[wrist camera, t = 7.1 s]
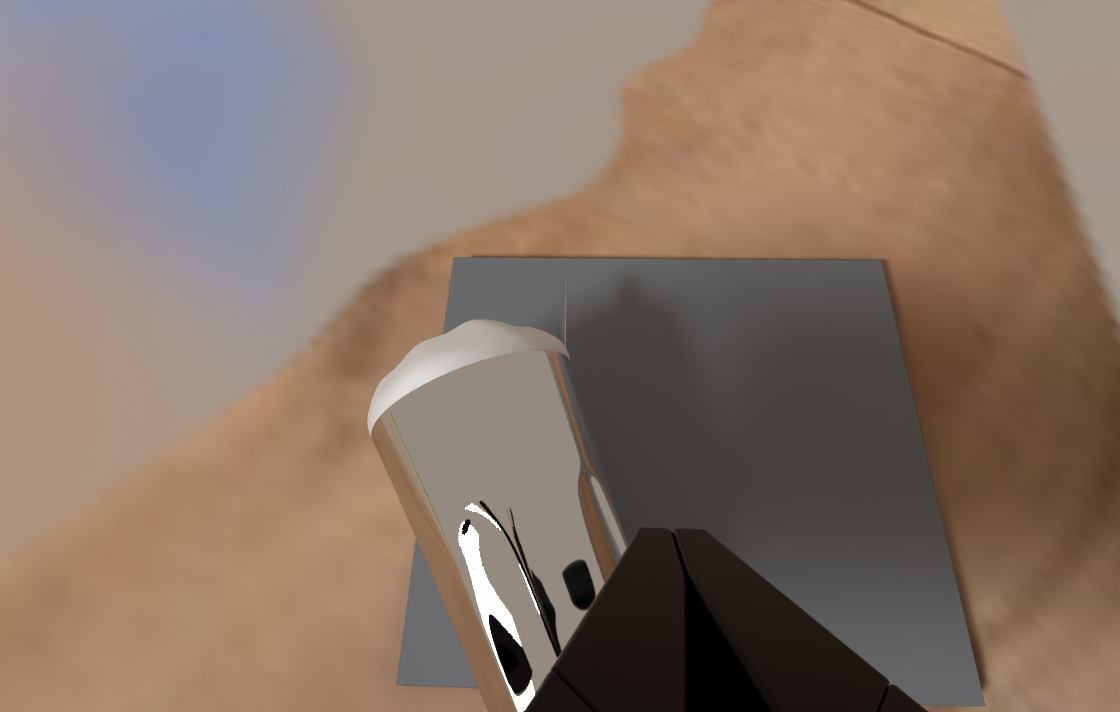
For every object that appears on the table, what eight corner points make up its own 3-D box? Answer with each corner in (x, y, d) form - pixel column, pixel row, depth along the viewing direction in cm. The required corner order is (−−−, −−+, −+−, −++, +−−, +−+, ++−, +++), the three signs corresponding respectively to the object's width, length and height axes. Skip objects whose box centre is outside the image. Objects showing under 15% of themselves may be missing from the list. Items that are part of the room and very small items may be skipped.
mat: (972, 706, 14) (985, 706, 14) (402, 685, 15) (396, 684, 14) (874, 271, 19) (881, 260, 19) (456, 267, 20) (453, 257, 19)
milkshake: (827, 720, 11) (586, 229, 14) (527, 897, 9) (329, 290, 12) (715, 708, 15) (547, 327, 18) (492, 830, 13) (349, 384, 17)
